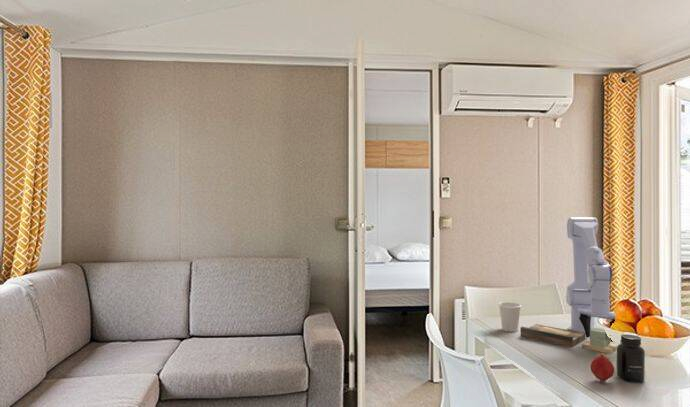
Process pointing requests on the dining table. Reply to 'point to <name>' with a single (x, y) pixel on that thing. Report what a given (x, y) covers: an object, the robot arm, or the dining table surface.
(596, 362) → the onion
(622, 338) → the supplement bottle
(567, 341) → the dock
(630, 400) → the dining table surface
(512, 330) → the dixie cup
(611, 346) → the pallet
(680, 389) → the dining table surface
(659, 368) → the dining table surface
